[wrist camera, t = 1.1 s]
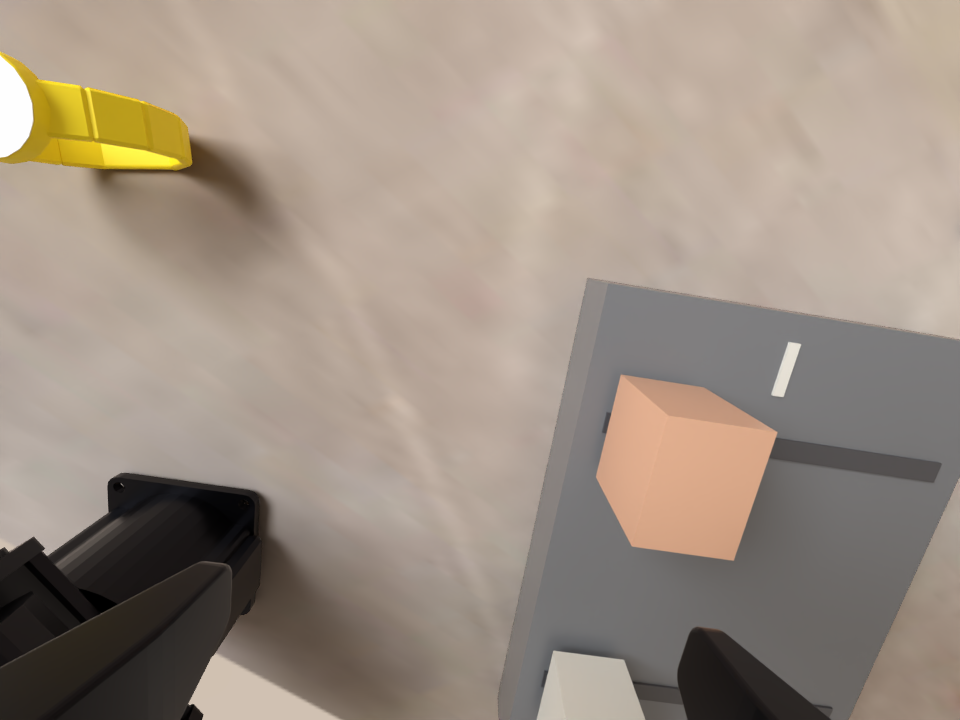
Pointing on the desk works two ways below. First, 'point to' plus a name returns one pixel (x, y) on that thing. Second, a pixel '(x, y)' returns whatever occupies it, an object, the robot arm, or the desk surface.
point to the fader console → (776, 509)
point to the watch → (84, 126)
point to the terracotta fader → (682, 467)
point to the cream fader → (588, 689)
